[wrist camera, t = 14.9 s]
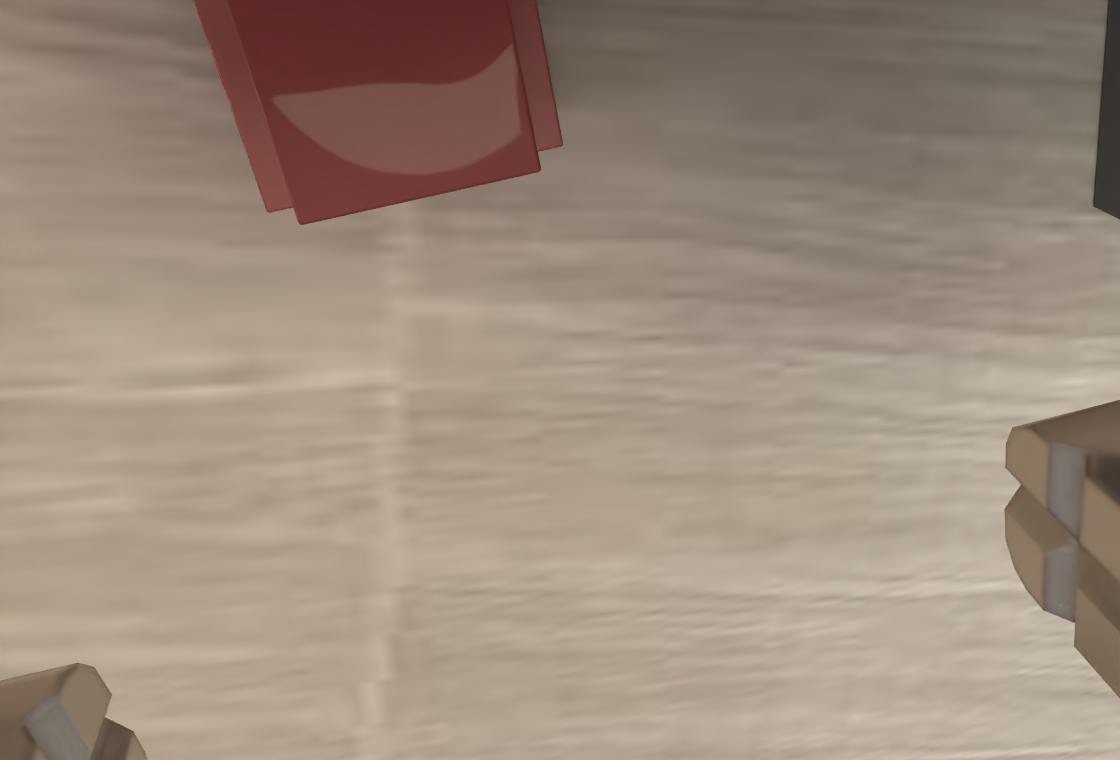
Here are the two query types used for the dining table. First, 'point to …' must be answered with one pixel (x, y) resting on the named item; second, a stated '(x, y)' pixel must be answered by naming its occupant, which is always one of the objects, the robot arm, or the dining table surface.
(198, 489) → the dining table surface
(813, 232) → the dining table surface
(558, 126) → the burgundy books
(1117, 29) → the grey books
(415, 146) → the red rectangular block
